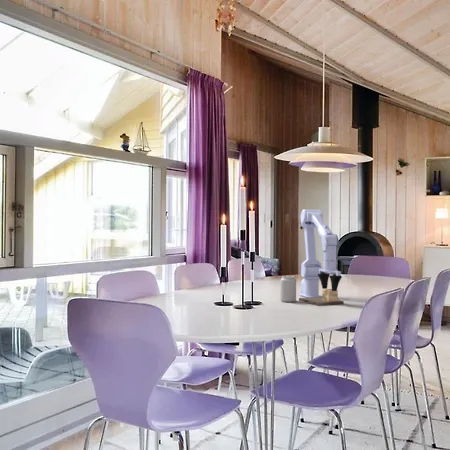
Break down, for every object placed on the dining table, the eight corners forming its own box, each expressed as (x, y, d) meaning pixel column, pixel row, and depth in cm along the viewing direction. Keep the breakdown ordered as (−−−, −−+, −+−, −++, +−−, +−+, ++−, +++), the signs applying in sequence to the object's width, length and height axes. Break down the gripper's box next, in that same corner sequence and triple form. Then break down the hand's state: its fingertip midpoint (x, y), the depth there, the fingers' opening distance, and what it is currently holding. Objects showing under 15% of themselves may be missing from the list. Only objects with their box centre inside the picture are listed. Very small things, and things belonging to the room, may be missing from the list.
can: (283, 302, 231) (284, 277, 231) (277, 300, 238) (278, 275, 238) (298, 302, 233) (298, 276, 233) (292, 299, 240) (292, 275, 240)
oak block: (322, 300, 232) (322, 289, 232) (331, 299, 234) (331, 288, 234) (328, 301, 228) (328, 290, 228) (337, 301, 230) (337, 290, 229)
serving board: (298, 300, 238) (299, 298, 238) (323, 298, 244) (323, 296, 244) (318, 305, 223) (318, 303, 223) (343, 303, 229) (343, 301, 229)
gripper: (346, 261, 226) (346, 291, 226) (327, 259, 239) (327, 287, 239) (333, 261, 223) (333, 292, 223) (315, 259, 236) (315, 288, 236)
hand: (329, 289), depth 231 cm, fingers open, 7 cm apart
